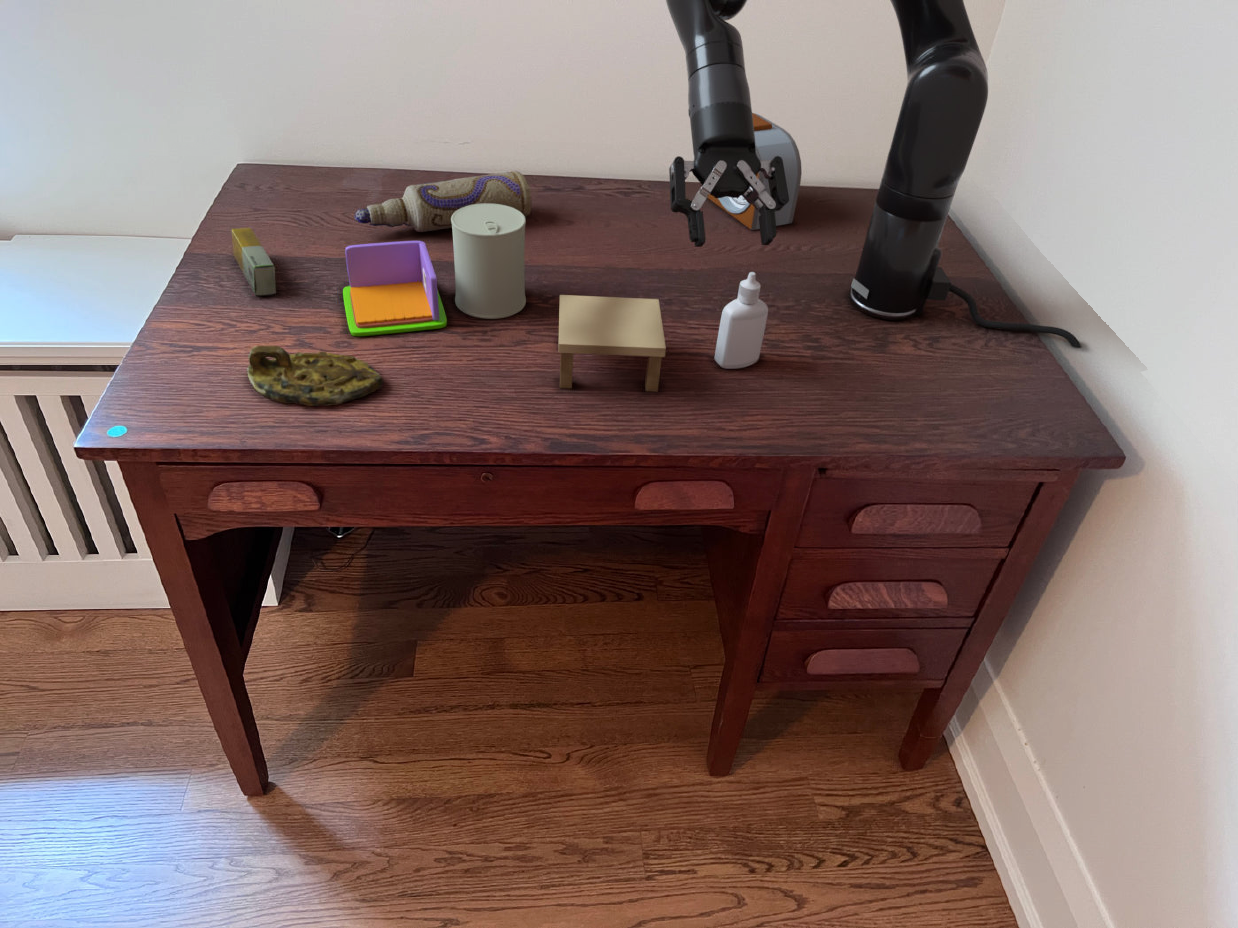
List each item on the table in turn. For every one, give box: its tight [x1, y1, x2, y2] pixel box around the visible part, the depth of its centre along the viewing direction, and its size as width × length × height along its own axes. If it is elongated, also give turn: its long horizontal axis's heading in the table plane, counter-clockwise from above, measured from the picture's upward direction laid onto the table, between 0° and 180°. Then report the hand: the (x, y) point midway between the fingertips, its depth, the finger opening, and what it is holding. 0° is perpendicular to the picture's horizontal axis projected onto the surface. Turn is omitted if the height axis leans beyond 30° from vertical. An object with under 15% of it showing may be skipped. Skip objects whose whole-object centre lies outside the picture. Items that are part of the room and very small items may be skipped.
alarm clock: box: [706, 112, 803, 231], centre depth 141 cm, size 15×8×14 cm, turn 28°
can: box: [451, 203, 527, 320], centre depth 112 cm, size 9×9×12 cm
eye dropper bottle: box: [714, 271, 769, 370], centre depth 105 cm, size 4×6×12 cm
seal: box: [246, 345, 384, 407], centre depth 98 cm, size 9×5×15 cm
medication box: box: [230, 227, 277, 297], centre depth 115 cm, size 12×3×4 cm, turn 31°
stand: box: [557, 294, 667, 393], centre depth 105 cm, size 12×11×6 cm
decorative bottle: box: [354, 170, 533, 233], centre depth 130 cm, size 26×8×7 cm, turn 116°
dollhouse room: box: [342, 240, 448, 337], centre depth 111 cm, size 12×12×7 cm
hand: (734, 244), depth 106 cm, fingers open, 8 cm apart
